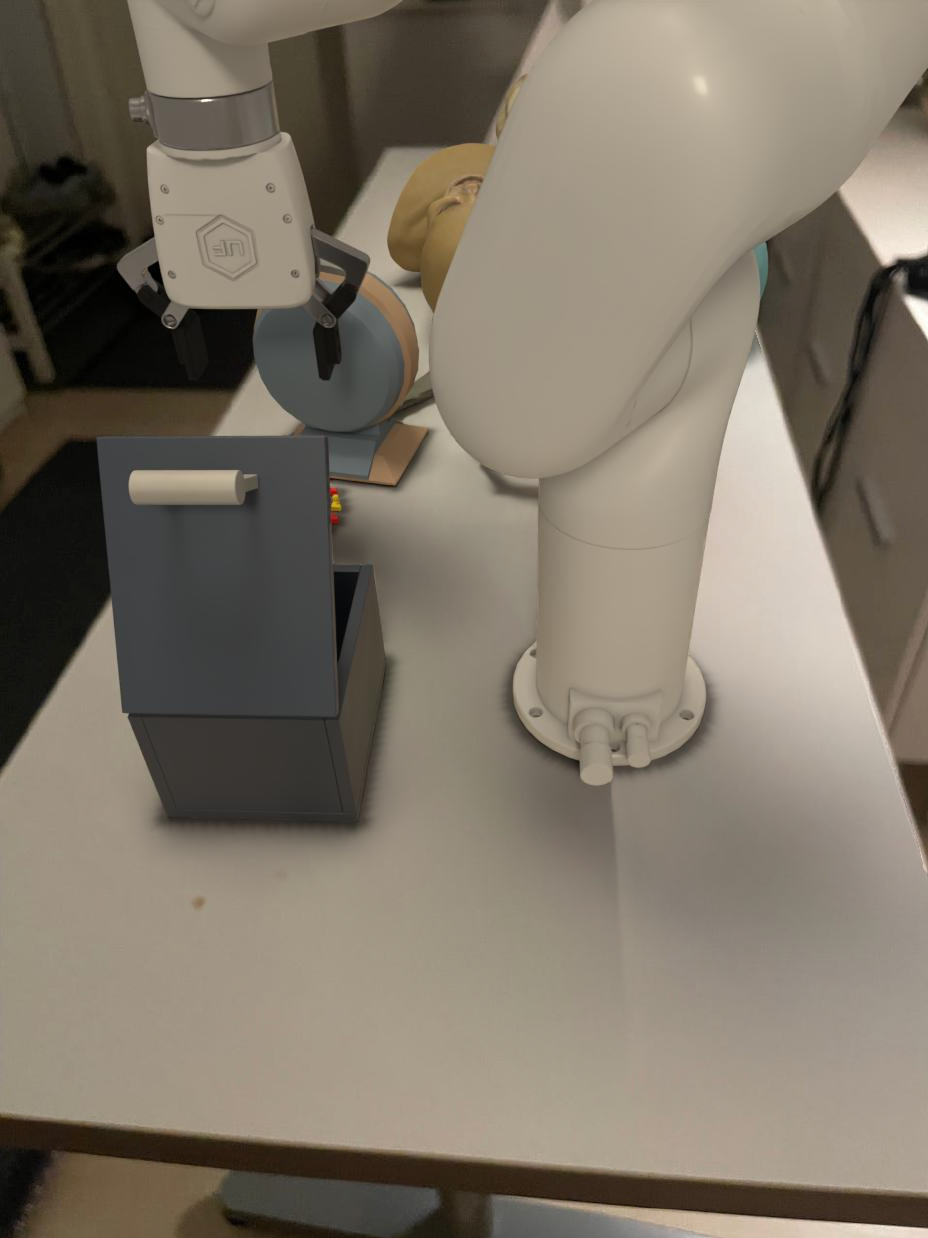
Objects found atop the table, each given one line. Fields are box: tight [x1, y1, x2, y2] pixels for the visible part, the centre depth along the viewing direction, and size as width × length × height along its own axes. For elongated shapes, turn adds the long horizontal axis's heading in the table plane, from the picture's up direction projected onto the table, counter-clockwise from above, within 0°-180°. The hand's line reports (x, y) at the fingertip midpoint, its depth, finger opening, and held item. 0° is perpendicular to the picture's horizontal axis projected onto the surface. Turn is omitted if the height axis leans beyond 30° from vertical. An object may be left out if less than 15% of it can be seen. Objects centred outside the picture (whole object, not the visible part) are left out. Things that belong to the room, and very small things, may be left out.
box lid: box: [96, 435, 339, 717], centre depth 47 cm, size 14×12×5 cm
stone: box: [395, 371, 434, 412], centre depth 95 cm, size 13×2×5 cm
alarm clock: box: [252, 258, 429, 486], centre depth 82 cm, size 14×10×18 cm
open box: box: [127, 563, 387, 823], centre depth 59 cm, size 14×12×9 cm
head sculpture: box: [386, 142, 496, 314], centre depth 108 cm, size 21×16×28 cm
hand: (263, 371), depth 70 cm, fingers open, 9 cm apart
